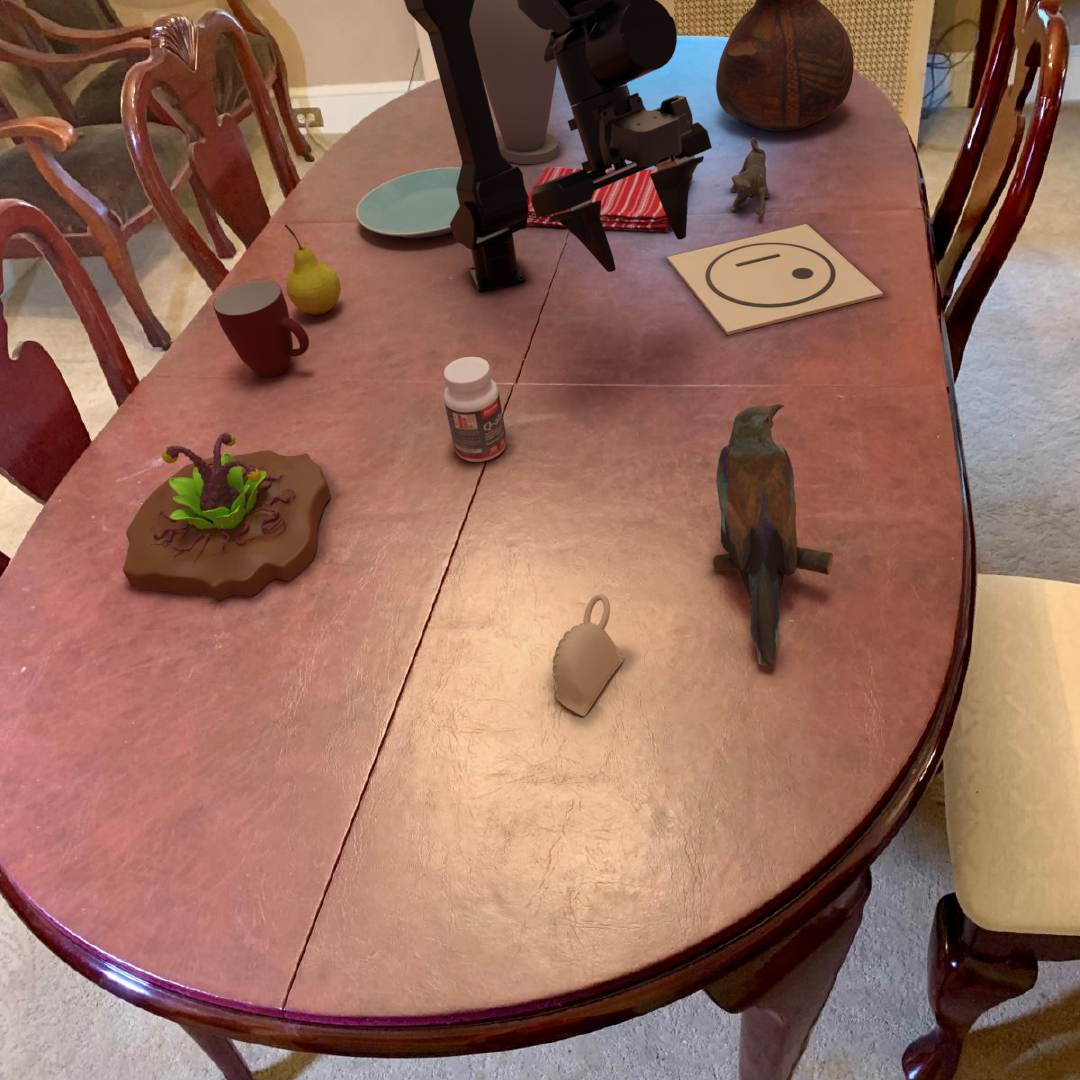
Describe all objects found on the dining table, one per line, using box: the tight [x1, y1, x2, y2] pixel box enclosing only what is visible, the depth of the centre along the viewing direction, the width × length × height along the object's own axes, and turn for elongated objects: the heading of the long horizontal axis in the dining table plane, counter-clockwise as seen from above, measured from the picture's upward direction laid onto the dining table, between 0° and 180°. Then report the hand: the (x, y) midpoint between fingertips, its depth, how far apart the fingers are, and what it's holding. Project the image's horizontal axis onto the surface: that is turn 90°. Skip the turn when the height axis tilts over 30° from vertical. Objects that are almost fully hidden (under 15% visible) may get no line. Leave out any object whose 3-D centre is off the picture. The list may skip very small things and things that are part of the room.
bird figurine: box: [712, 403, 834, 666], centre depth 79 cm, size 13×10×20 cm
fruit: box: [284, 223, 342, 316], centre depth 121 cm, size 7×7×12 cm
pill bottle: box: [443, 356, 508, 463], centre depth 97 cm, size 6×6×10 cm
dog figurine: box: [730, 136, 771, 216], centre depth 131 cm, size 12×6×7 cm, turn 165°
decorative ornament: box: [552, 593, 625, 718], centre depth 76 cm, size 4×8×5 cm, turn 146°
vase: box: [470, 0, 559, 165], centre depth 143 cm, size 13×13×35 cm
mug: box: [212, 279, 310, 378], centre depth 113 cm, size 10×8×10 cm
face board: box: [666, 223, 884, 336], centre depth 119 cm, size 20×20×1 cm
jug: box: [715, 0, 855, 132], centre depth 144 cm, size 22×22×30 cm
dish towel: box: [527, 166, 694, 233], centre depth 138 cm, size 17×24×3 cm
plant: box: [122, 432, 332, 601], centre depth 92 cm, size 20×20×11 cm
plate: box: [355, 166, 461, 239], centre depth 142 cm, size 22×22×3 cm
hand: (647, 254), depth 96 cm, fingers open, 9 cm apart
